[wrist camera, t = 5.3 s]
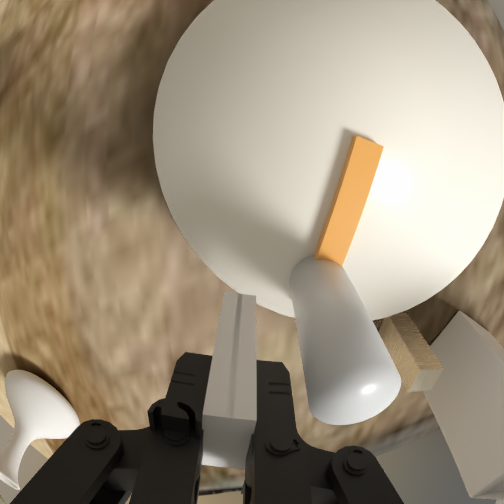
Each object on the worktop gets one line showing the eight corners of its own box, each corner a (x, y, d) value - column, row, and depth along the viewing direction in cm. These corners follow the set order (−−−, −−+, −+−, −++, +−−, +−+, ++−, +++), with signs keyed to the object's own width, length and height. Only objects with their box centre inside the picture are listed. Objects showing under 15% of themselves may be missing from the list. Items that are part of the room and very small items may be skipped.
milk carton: (457, 308, 22) (575, 471, 5) (490, 332, 24) (584, 464, 6) (408, 366, 25) (482, 540, 7) (446, 382, 26) (514, 522, 8)
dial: (223, -46, 12) (192, -165, 1) (502, 70, 13) (617, 68, 3) (143, 254, 19) (51, 371, 9) (419, 320, 20) (489, 430, 10)
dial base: (189, -27, 14) (161, -79, 7) (481, 44, 14) (540, 31, 8) (160, 310, 23) (130, 371, 16) (421, 333, 23) (456, 386, 17)
